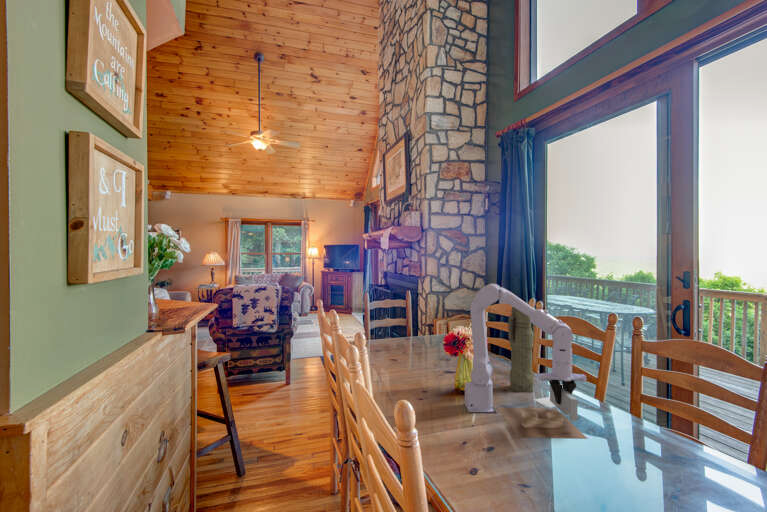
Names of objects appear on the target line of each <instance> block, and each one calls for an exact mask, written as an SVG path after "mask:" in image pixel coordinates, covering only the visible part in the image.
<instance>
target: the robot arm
mask: <svg viewBox="0 0 767 512" xmlns="http://www.w3.org/2000/svg"><path fill="white" fill-rule="evenodd" d="M476 293H477V294H476V295H475V297H474V299H473V300H472V301H471V304H470V306H469V308H470V309H469V310H470V312H469V313H470V323H471V335H472V339H471V340H472V350H473V351H472V353H473V359H472V369H471V371H470V379H471V381H467V382H465V383H464V404H465V407H466V409H467V411H468V412H469V413H497V411H496V410H495V408H494V405H493V403H494V401H493V400H494V398H493V395H494V393H493V392H494V391H493V388H494V387H493V385H494V383H493V380H492V379H491V376H492V374H493V371H494V370H493V369H494V368H493V366H492V364H491V362H490V356H489V355H488V354H489V353H488V340H487V328H486V327H487V325H486V315H485V314H486V313H485V312H486V311H485V310H486V309H487V308H489V306H491V305H493V304H494V303H496V302H498V301H499V302H498V304H507V305H510V306H511V307H515V308H516V309H518V310H519V311H521V312H522V313H524V314H526V315H527V316H529V317H530V321H531V323H532V324H534V327H536V328H538V329H540V330H541V331H543V333H545V334H547V335H551V337H552V342H553V343H552V344H553V345H552V347H551V351H552V352H551V354H552V355H551V357H552V359H551V370H552V371H551V372H543V373H537V379H538V381H540V382H547V381H548V383H549V386H550V385H551V387H552V390H553V392H554V396H555V400H556V403H557V404H561V390H562V388H564V389H565V390H566V391H568V392H569V393H570V394H571V395H572V394H573V392H574V390H576V388H577V383H576V382H582V383H587V376H586V375H585V374H583V373H573V348H572V345H573V344H572V341H573V339H574V335H573V332H572V329H571V327H570V326H568V324H567V323H566V322H563V321H562V320H561V319H558V318H555V317H554V316H553V315H551V314H550V313H549V311H548V310H547V309H542V308H537V309H536V308H533V307H532V306H531V305H528V304H529V303H528V302H526V301H524V300H522V299H521V298H520V297H518V296H517V295H516V294H514V293H513V292H512V291H510V290H508V289H506V288H505V287H501V286H500V285H499V284H497V283H493V282H491V283H489V284H487V285H485V286H483V287H482V288H480V289H479V290H478V291H477V292H476ZM527 303H528V304H527Z"/></svg>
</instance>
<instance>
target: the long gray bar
mask: <svg viewBox="0 0 767 512" xmlns="http://www.w3.org/2000/svg"><path fill="white" fill-rule="evenodd" d="M549 397H550V401H551V402H552V403H553V404H554V405H555V407H556V409H557V410H558V411H559V412H560V413H562V414H563V415H564V416H569V421H570V422H578V398H576V397H575V396H574V395H572V394H570V393H569V392H568V391H566V390H565V389H564V388H563V387H562V390H561V404H557V403H556V400H555V396H554V392H553V390H552V387H551V385H550V384H549Z"/></svg>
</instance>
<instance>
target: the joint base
mask: <svg viewBox="0 0 767 512" xmlns="http://www.w3.org/2000/svg"><path fill="white" fill-rule="evenodd" d="M497 409H498V410H499V412H500V414H502V417H503V418H504V419H505V421H506V422H507V424H508V425H509V427H510V428H511V431H513V433H514V435H515V436H516V437H517V438H526V439H527V438H530V439H531V438H532V439H535V438H536V439H537V438H538V439H539V438H540V439H573V440H574V439H576V440H577V439H579V440H580V439H581V440H584V439H586V440H588V437H587V436H586V435H584V433H583V432H581V430H579V429H578V427H576V426H575V425H574V424H573V423H572V421H571V420H570V419H569V418H567V417H566V415H565V414H564V413H563V412H561V411H560V410H559V409H558V408H539V407H538V408H537V407H536V408H535V407H533V408H532V407H529V408H528V407H497Z"/></svg>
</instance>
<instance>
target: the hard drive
mask: <svg viewBox="0 0 767 512" xmlns="http://www.w3.org/2000/svg"><path fill="white" fill-rule="evenodd" d="M533 401H535V402H537V403H538V404H541V405H543V406H545V407H547V409H550V408H553V407H556V406H555V405H554V404H553V403H552V402H551V401H550V396H547V397H541V398H536V399H534V398H533Z"/></svg>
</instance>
